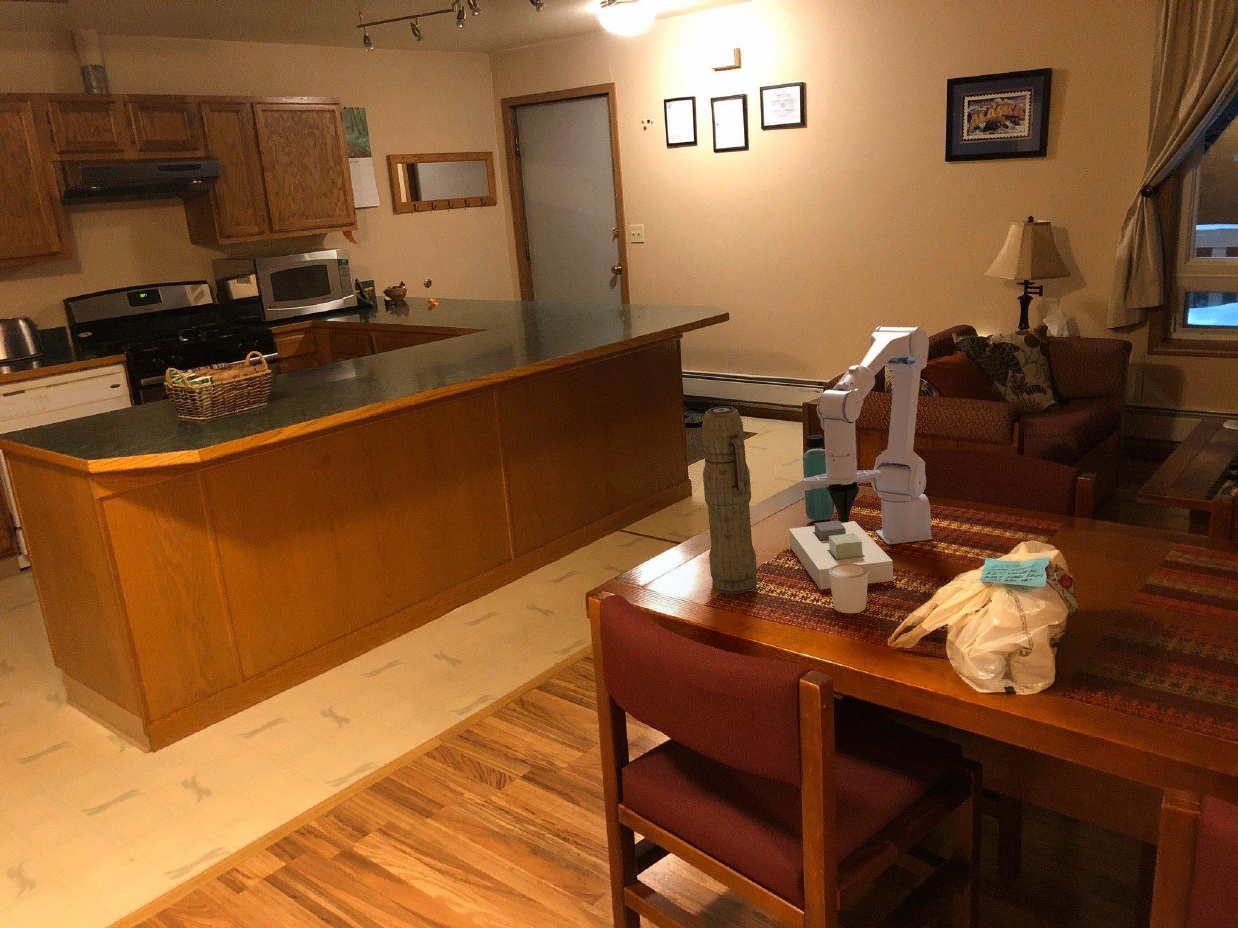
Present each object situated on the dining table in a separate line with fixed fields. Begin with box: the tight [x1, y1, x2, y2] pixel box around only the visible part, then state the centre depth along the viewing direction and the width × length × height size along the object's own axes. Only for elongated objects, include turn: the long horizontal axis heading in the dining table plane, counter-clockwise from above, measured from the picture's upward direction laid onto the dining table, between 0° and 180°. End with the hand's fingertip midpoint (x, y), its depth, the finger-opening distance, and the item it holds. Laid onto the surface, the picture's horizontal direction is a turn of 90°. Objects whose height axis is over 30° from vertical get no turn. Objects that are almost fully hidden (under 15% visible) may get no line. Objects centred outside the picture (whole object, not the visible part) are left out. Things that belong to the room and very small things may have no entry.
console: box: [788, 520, 894, 590], centre depth 195 cm, size 14×24×4 cm, turn 4°
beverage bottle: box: [802, 434, 836, 521], centre depth 217 cm, size 6×7×20 cm
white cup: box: [829, 564, 868, 614], centre depth 174 cm, size 7×7×7 cm
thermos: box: [701, 406, 758, 595], centre depth 185 cm, size 9×12×35 cm
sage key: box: [829, 533, 862, 559], centre depth 188 cm, size 5×5×3 cm
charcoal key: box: [814, 520, 846, 541], centre depth 199 cm, size 5×5×3 cm
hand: (843, 521), depth 187 cm, fingers closed
